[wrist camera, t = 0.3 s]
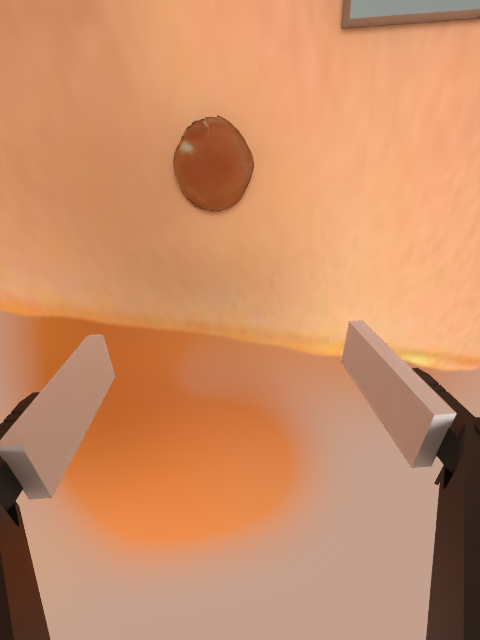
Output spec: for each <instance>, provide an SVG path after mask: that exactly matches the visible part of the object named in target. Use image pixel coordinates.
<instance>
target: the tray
mask: <svg viewBox="0 0 480 640" xmlns="http://www.w3.org/2000/svg"><path fill="white" fill-rule="evenodd" d="M473 18H480V0H344V4H343V18H342V28H352V27H366V26H379V25H393V24H406V23H419V22H433V21H446V20H460V19H473Z"/></svg>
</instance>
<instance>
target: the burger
mask: <svg viewBox="0 0 480 640" xmlns="http://www.w3.org/2000/svg"><path fill="white" fill-rule="evenodd" d="M253 168H254V162H253V157H252V153H251V151H250V149H249V147H248V145H247V143H246V141H245V139H244V138H243V136H242V135H241V134H240V132H239V131H238V130H237V129H236V128H235V127H234V126H233V125H232V124H231V123H230V122H229V121H227V120H226V119H224V118H222V117H220V116H217V118H215V117H206V118H205V119H202V120H198V121H195V122H193V123H192V125H191V126H189V127H187V129H186V131H185V132H184V135H183V136H182V138H181V141H180V143H179V145H178V146H177V149H176V151H175V155H174V169H175V173H176V176H177V179H178V182H179V184H180V186H181V189H182V192H183V194H184V195H185V196H186V197H187V199H188V200H190V202H192V204H194V205H195V206H196V207H199V208H201V209H208V210H211V211H220V210H224V209H227V208H229V207H231V206H233V205H235V204H236V203H237V202H238V201H239V200H240V199H241V197H242V196H243V194H244V192H245V189H246V188H247V186H248V184H249V181H250V179H251V176H252V172H253Z"/></svg>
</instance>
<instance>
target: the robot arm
mask: <svg viewBox="0 0 480 640" xmlns="http://www.w3.org/2000/svg"><path fill="white" fill-rule="evenodd" d="M342 364H343V365H344V367H345V369H346V370H347V372H348V373H349V374H350V376H351V378H352V379H353V381H354V382H355V384H356V385H357V386H358V388H359V389H360V391H361V392H362V394H363V396H364V397H365V399H366V400H367V402H368V403H369V405H370V406H371V407H372V409H373V411H374V412H375V413H376V415H377V417H378V418H379V420H380V421H381V422H382V424H383V425H384V427H385V429H386V430H387V432H388V433H389V435H390V436H391V438H392V439H393V441H394V442H395V443H396V445H397V447H398V448H399V450H400V451H401V453H402V454H403V456H404V457H405V458H406V460H407V461H408V463H409V465H410V466H411V467H412V468H416V467H428V466H432V464H433V462H434V460H435V458H436V456H437V457H438V458H439V459H440V460H441V462H442V463H443V464H444V465H443V467H442V469H441V471H440V473H439V475H438V477H437V479H436V481H435V484H437V485H438V484H439V482H440V486H439V498H438V509H437V520H436V533H435V544H434V555H433V566H432V578H431V589H430V601H429V612H428V624H427V636H426V640H480V418H479V417H474V416H473V415H472V414H471V413H470V412H469V411H468V410H467V409H466V408H465V407H464V406H462V405H461V404H460V403H459V402H458V401H457V400H456V399H455V398H454V397H453V396H452V395H451V394H449V393H448V392H446V390H445V389H444V388H443V387H442V386H441V385H439V383H438V382H437V381H436V380H434V379H433V378H432V377H431V376H430V375H429V374H427V373H426V372H424V371H422V370H420V369H418V368H410V367H409V366H408V365H407V364H406V363H405V362H404V361H403V360H402V359H401V358H400V357H399V356H398V355H397V354H396V353H395V352H394V351H393V350H392V349H391V348H390V347H389V346H388V345H387V344H386V343H385V342H384V341H383V340H382V339H381V338H380V337H379V336H378V335H377V334H376V333H375V332H374V331H373V330H372V329H371V328H370V327H369V326H368V325H367V324H366V323H365V322H364V321H349V324H348V330H347V335H346V340H345V346H344V351H343V356H342ZM114 378H115V374H114V371H113V367H112V363H111V360H110V357H109V353H108V350H107V346H106V343H105V340H104V336H103V334H99V335H88V336H87V337H86V338H85V339H84V340H83V341H82V343H81V344H80V345H79V346H78V348H77V349H76V350H75V351H74V352H73V353H72V355H71V356H70V357H69V358H68V359H67V361H66V362H65V363H64V364H63V365H62V367H61V368H60V369H59V370H58V372H57V373H56V374H55V375H54V376H53V378H52V379H51V380H50V381H49V382H48V383H47V385H46V386H45V387H44V388H43V389H42V391H41V392H36V393H32V394H31V395H29V396H28V397H26V398H25V399H24V400H22V401H21V402H20V403H19V404H18V405H17V406H16V407H15V408H14V410H13V411H12V412H11V414H9V415H8V416H7V417H6V418H5V420H4V422H3V423H1V424H0V640H50V637H49V632H48V628H47V623H46V619H45V615H44V610H43V606H42V602H41V598H40V593H39V589H38V585H37V581H36V576H35V573H34V568H33V563H32V559H31V555H30V551H29V546H28V542H27V538H26V534H25V529H24V525H23V521H22V516H21V512H20V508H19V505H18V504H17V502H16V499H17V498H18V496H19V495H20V493H21V491H22V490H24V492H25V494H26V495H27V497H28V498H29V499H41V498H52V496H53V494H54V493H55V491H56V489H57V487H58V485H59V483H60V481H61V479H62V477H63V475H64V473H65V471H66V469H67V468H68V466H69V464H70V462H71V460H72V458H73V456H74V454H75V452H76V450H77V448H78V446H79V445H80V443H81V441H82V439H83V437H84V435H85V433H86V431H87V429H88V427H89V425H90V424H91V422H92V420H93V418H94V416H95V414H96V412H97V410H98V408H99V406H100V404H101V402H102V401H103V399H104V396H105V395H106V393H107V391H108V389H109V387H110V385H111V383H112V381H113V379H114Z"/></svg>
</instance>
